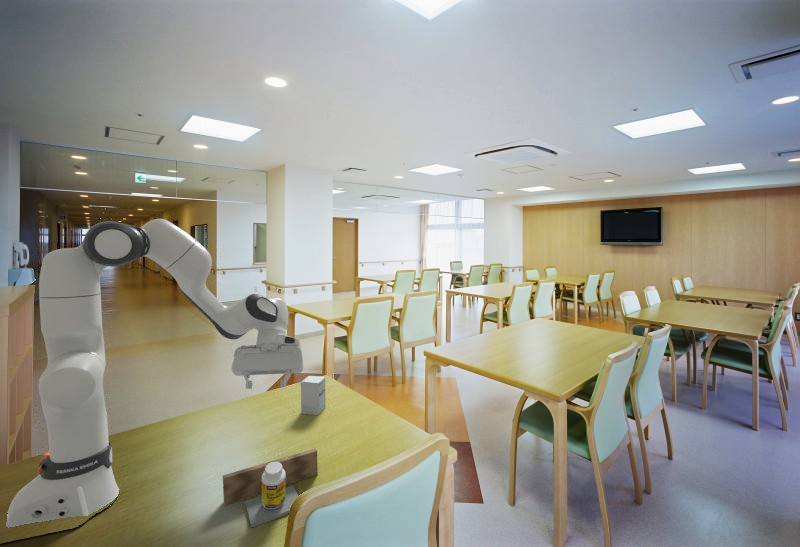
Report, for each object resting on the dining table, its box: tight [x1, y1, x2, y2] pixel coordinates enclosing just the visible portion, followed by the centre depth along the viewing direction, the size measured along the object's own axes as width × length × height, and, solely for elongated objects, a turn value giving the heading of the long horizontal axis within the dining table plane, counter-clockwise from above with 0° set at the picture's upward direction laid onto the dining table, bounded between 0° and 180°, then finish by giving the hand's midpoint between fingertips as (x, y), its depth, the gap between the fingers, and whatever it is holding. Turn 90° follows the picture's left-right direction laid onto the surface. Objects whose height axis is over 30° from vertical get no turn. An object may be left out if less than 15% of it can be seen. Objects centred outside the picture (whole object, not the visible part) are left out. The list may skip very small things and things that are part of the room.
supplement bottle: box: [261, 461, 286, 509], centre depth 91 cm, size 6×6×10 cm
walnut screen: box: [222, 448, 319, 506], centre depth 99 cm, size 24×2×7 cm, turn 121°
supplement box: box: [300, 375, 327, 416], centre depth 145 cm, size 7×7×13 cm
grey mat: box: [244, 485, 299, 528], centre depth 92 cm, size 12×9×1 cm
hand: (266, 387), depth 107 cm, fingers open, 8 cm apart
